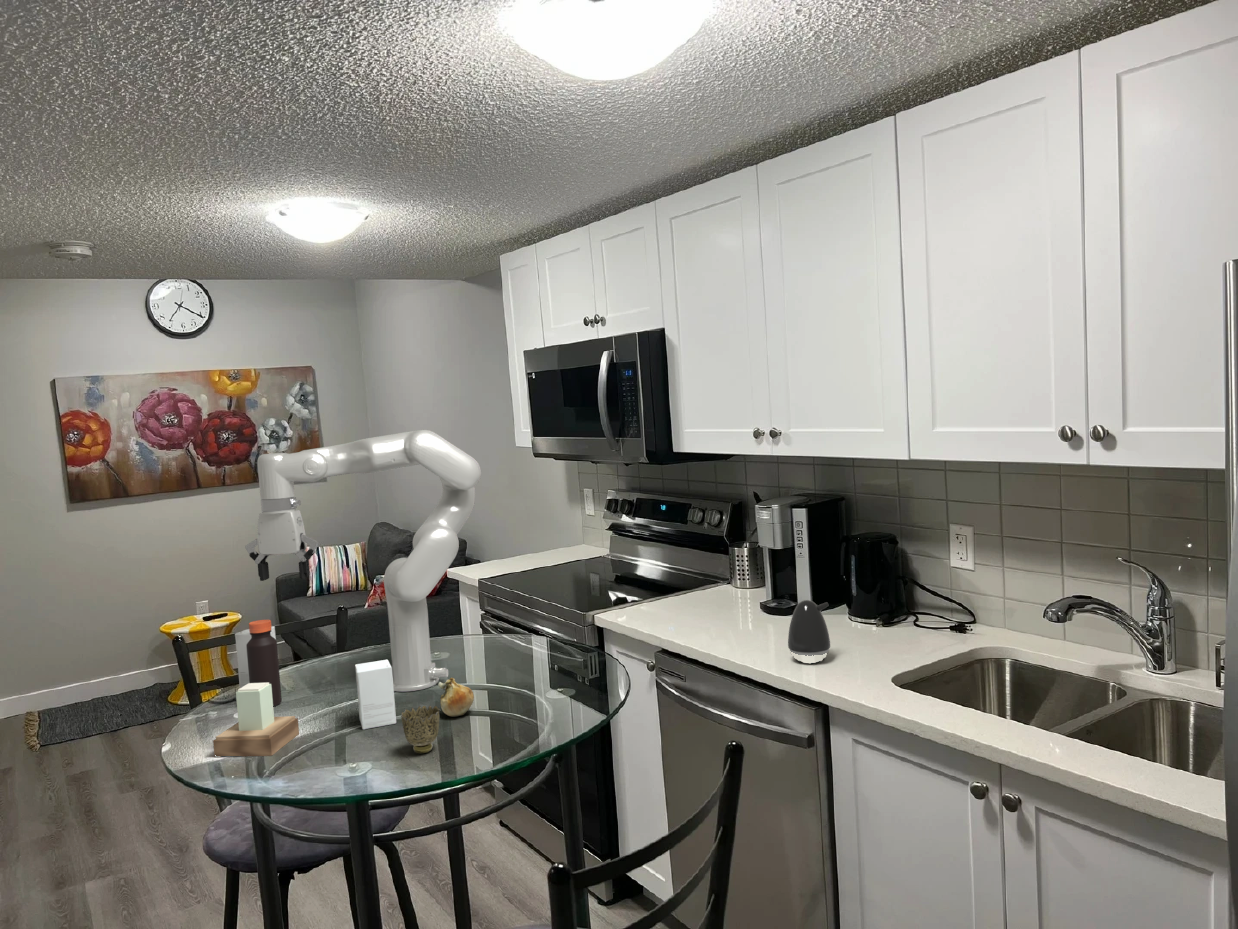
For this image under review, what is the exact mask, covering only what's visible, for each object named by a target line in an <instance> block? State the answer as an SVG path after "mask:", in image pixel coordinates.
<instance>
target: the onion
mask: <svg viewBox="0 0 1238 929" xmlns="http://www.w3.org/2000/svg"><path fill="white" fill-rule="evenodd" d="M437 686H438V688H439V689H440V690H442V691H444V692H443V693H442V694H441V696H440V698H439V699H440V700H439V702H440V707H441V710H442V712H443V713H444V714H445V715H447V716H448V717H453V718H455V717H459V716H464V715H465V714H466V713H467V712H468V711H469V710H470V708H471V707H472V705H473V704H474V700H475V696H474V692H473V690H472V689H471V688H470V687H468V686H465V685H464V684H460V683H457V682H456V679H455V678H454V677H450V678H449V679H446V681H445V682H441V681H439V682H438V683H437Z"/></svg>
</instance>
